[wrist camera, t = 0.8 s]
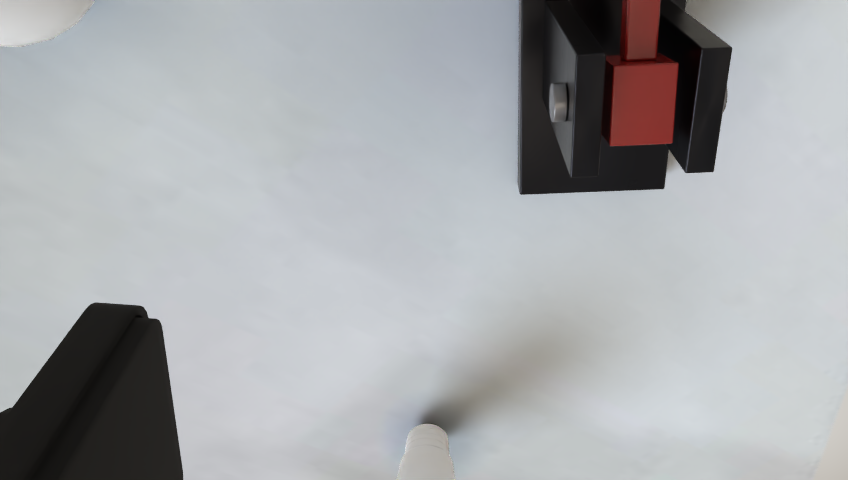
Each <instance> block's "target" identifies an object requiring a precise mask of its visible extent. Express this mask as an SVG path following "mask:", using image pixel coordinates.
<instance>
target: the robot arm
mask: <svg viewBox="0 0 848 480" xmlns="http://www.w3.org/2000/svg"><path fill="white" fill-rule="evenodd" d="M0 480H183V470H182V463H181V456H180V449H179V442H178V435H177V428H176V421H175V414H174V407H173V400H172V393H171V386H170V379H169V372H168V365H167V358H166V351H165V344H164V337H163V330H162V326H161V323H160V321H159V320H157V319H150V318H148V315H147V312H146V310H145V309H144V307H142V306H137V305H123V304H109V303H93V304H91V305H90V306H88V307H87V308H86V310H85V311H84V312H83V314H82V315H81V316H80V318H79V319H78V320H77V322H76V323H75V324H74V326H73V327H72V328H71V330H70V331H69V332H68V334H67V335H66V336H65V338H64V339H63V340H62V342H61V343H60V344H59V346H58V347H57V349H56V350H55V351H54V353H53V354H52V355H51V357H50V358H49V359H48V361H47V362H46V363H45V365H44V366H43V367H42V369H41V370H40V371H39V373H38V374H37V375H36V377H35V378H34V379H33V381H32V382H31V383H30V385H29V386H28V387H27V389H26V390H25V391H24V393H23V394H22V396H21V397H20V398H19V400H18V401H17V402H16V404H15V405H14V406H13V408H9V409H7V410H5V411H3V412H1V413H0Z"/></svg>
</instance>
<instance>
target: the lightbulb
mask: <svg viewBox="0 0 848 480" xmlns="http://www.w3.org/2000/svg"><path fill="white" fill-rule="evenodd" d="M396 480H456V479H455V475H454V466H453V461H452V459H451V457H450V456H449V443H448V437H447V434H446V433H445V431H444V430H443V429H441V428H440V427H438V426H436V425H433V424H421V425H418V426H416V427H415V428H413V429H412V430H411V431H410V432H409V434H408V437H407V442H406V448H405V454H404V455H403V457H402V459H401V462H400V467H399V473H398V476H397V479H396Z"/></svg>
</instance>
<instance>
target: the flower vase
mask: <svg viewBox="0 0 848 480" xmlns="http://www.w3.org/2000/svg"><path fill="white" fill-rule="evenodd" d="M94 2H95V0H0V46H6V47H23V46H27V45H31V44H35V43H39V42H43V41H47V40H51V39H54V38H55V37H57V36H59V35H60V34H62V33H63V32H65V31H66V30H68V29H70V28H71V27H73V26H74V25H76V24H77V23H78V22H79V21H80V20H81V18H82V17H83V16H84V15H85V13H86V12H87V11H88V10H89V8H90V7H91V6H92V5H93V3H94Z"/></svg>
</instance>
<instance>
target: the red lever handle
mask: <svg viewBox="0 0 848 480" xmlns="http://www.w3.org/2000/svg"><path fill="white" fill-rule="evenodd" d="M660 2H661V0H622V18H621V39H620V55H614V56H606V70H605V86H604V101H603V116H602V131H601V135H602V136H603V138H604V139H605V140H606V141H607V143H608V144H609V145H610V146H628V145H652V144H671V143H673V134H674V121H675V108H676V95H677V82H678V69H679V63H677V62H675V61H674V60H672V59H670V58H668V57H666V56H664V55H662V54H660V53H657V48H658V33H659V17H660Z"/></svg>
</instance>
